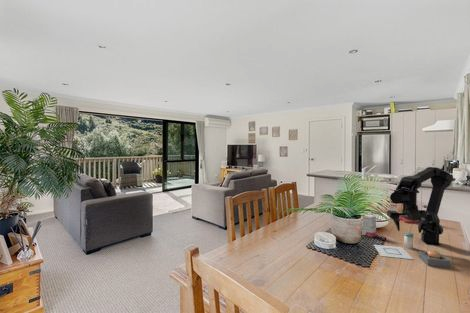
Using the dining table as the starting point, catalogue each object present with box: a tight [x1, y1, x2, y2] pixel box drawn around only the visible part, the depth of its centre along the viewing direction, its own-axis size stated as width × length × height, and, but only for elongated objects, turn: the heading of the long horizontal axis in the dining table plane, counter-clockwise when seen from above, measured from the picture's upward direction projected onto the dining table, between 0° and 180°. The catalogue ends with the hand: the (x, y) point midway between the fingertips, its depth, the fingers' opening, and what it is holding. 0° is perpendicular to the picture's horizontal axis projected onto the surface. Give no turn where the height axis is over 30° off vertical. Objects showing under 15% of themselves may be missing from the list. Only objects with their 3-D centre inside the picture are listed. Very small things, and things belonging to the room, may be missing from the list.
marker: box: [403, 232, 414, 250], centre depth 120 cm, size 4×4×7 cm
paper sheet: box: [373, 244, 415, 260], centre depth 115 cm, size 13×13×1 cm
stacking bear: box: [399, 206, 418, 224], centre depth 162 cm, size 11×10×18 cm
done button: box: [426, 249, 441, 259], centre depth 104 cm, size 4×4×2 cm
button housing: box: [418, 250, 451, 269], centre depth 105 cm, size 8×8×3 cm
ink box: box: [361, 214, 377, 238], centre depth 138 cm, size 9×5×12 cm, turn 33°
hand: (408, 231), depth 120 cm, fingers open, 9 cm apart
